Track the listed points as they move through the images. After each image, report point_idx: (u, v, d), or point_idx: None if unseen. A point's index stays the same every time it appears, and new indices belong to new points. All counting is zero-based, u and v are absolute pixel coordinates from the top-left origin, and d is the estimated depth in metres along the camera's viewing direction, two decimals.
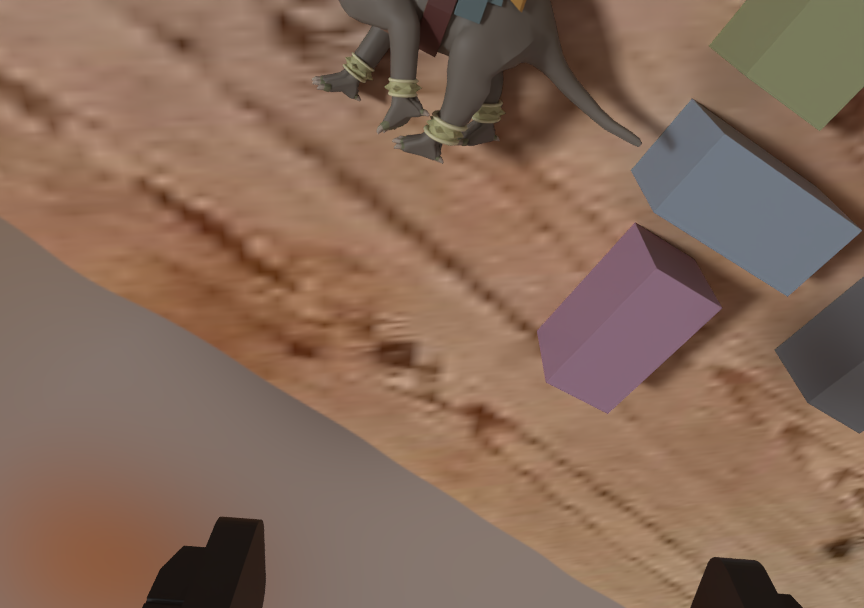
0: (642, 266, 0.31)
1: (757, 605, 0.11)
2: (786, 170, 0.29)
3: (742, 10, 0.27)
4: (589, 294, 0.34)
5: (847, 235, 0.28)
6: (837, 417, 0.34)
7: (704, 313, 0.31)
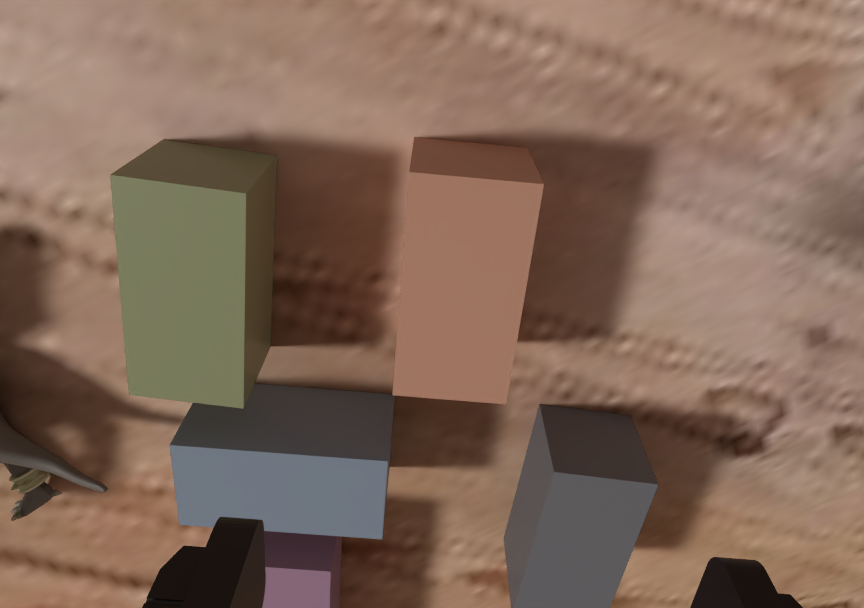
0: None
1: (757, 605, 0.11)
2: (311, 416, 0.27)
3: None
4: None
5: (379, 470, 0.25)
6: None
7: (319, 581, 0.28)
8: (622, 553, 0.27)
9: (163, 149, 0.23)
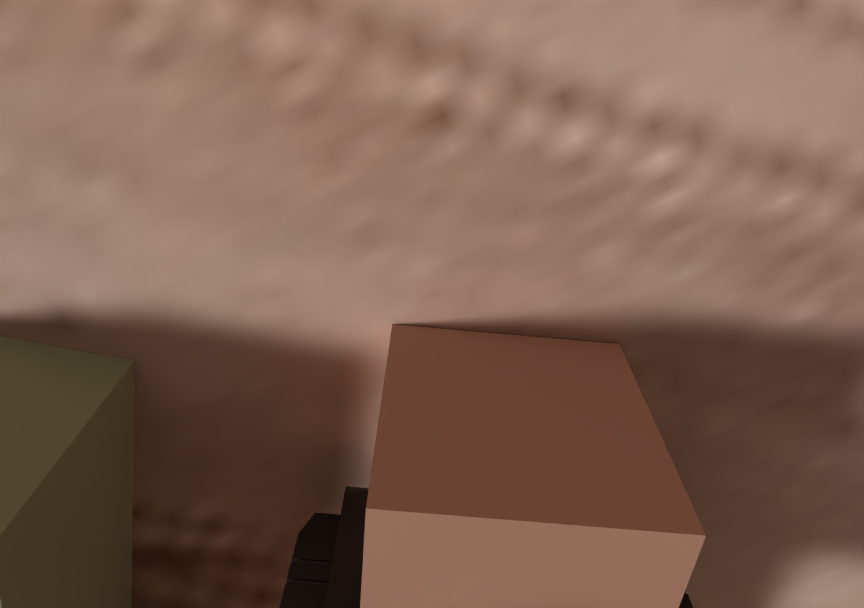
0: None
1: None
2: None
3: None
4: None
5: None
6: None
7: None
8: None
9: None
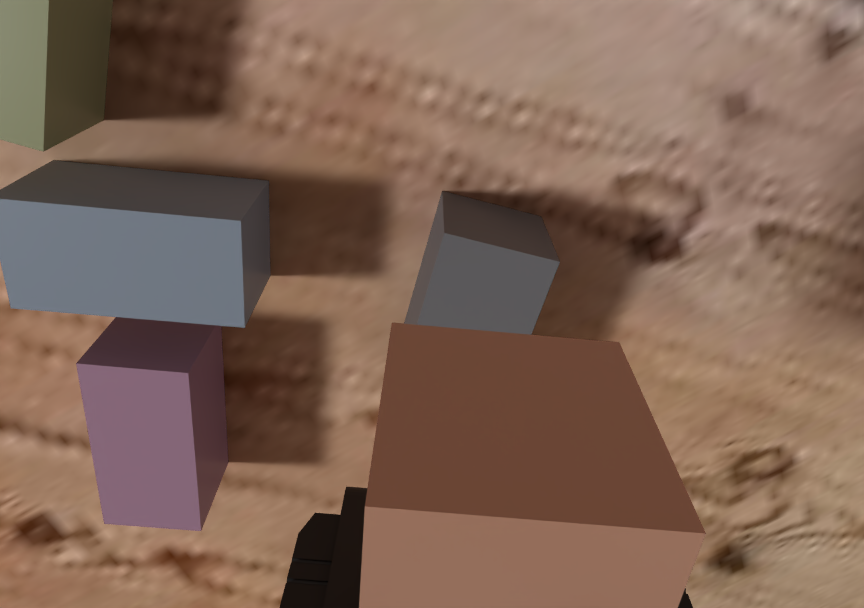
0: None
1: None
2: (165, 188, 0.23)
3: None
4: None
5: (232, 233, 0.22)
6: None
7: (176, 386, 0.25)
8: None
9: None
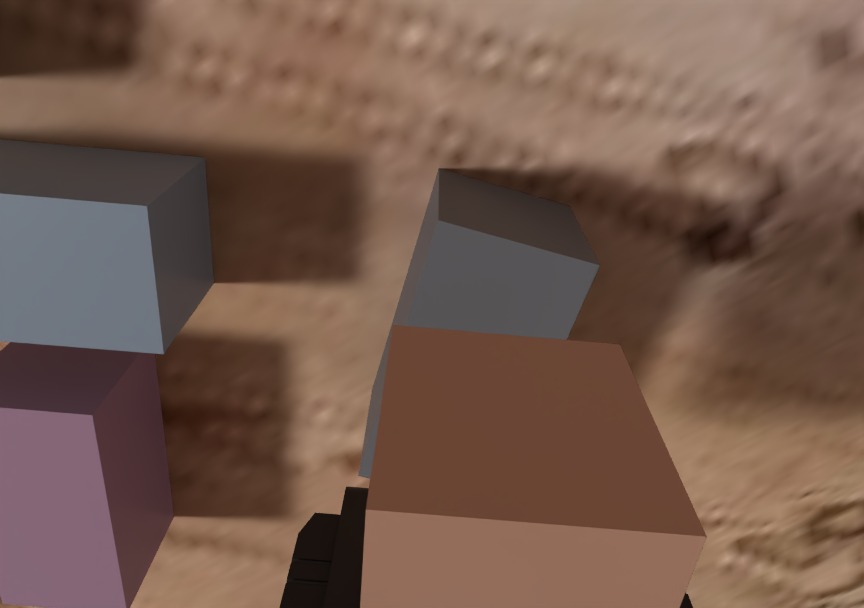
0: None
1: None
2: (57, 165, 0.17)
3: None
4: None
5: (136, 224, 0.16)
6: None
7: (79, 433, 0.18)
8: None
9: None
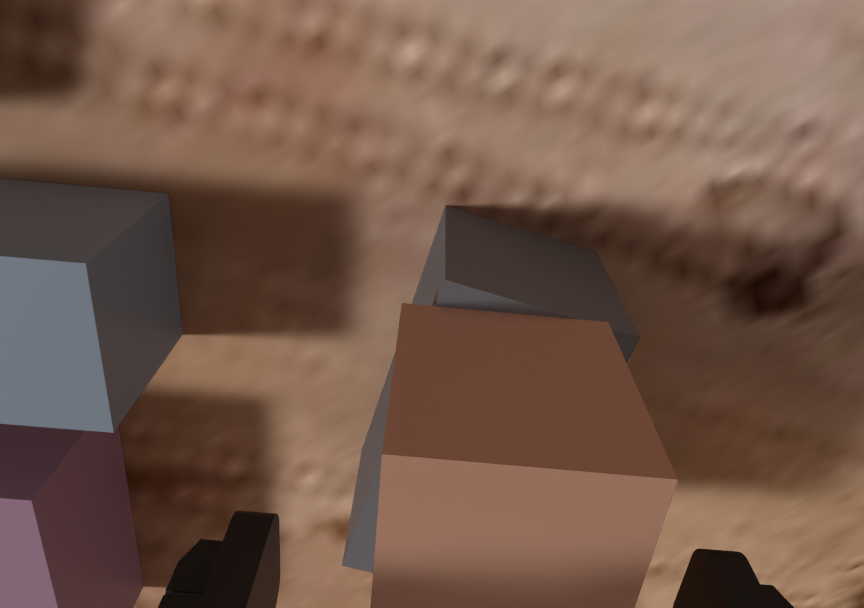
0: None
1: (739, 595, 0.11)
2: None
3: None
4: None
5: (74, 284, 0.13)
6: None
7: (17, 520, 0.16)
8: None
9: None
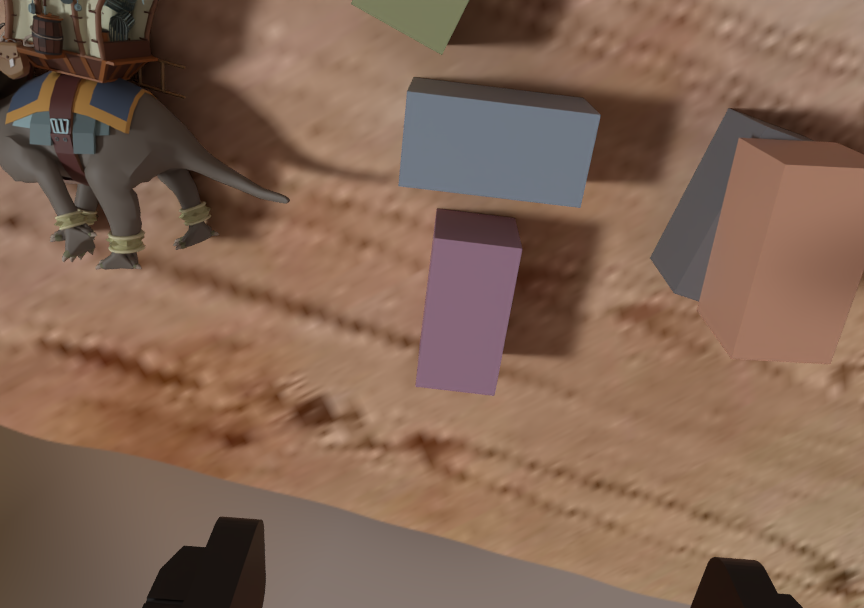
0: (433, 242, 0.31)
1: (757, 605, 0.11)
2: (519, 96, 0.29)
3: None
4: None
5: (590, 125, 0.28)
6: None
7: (509, 261, 0.30)
8: None
9: None
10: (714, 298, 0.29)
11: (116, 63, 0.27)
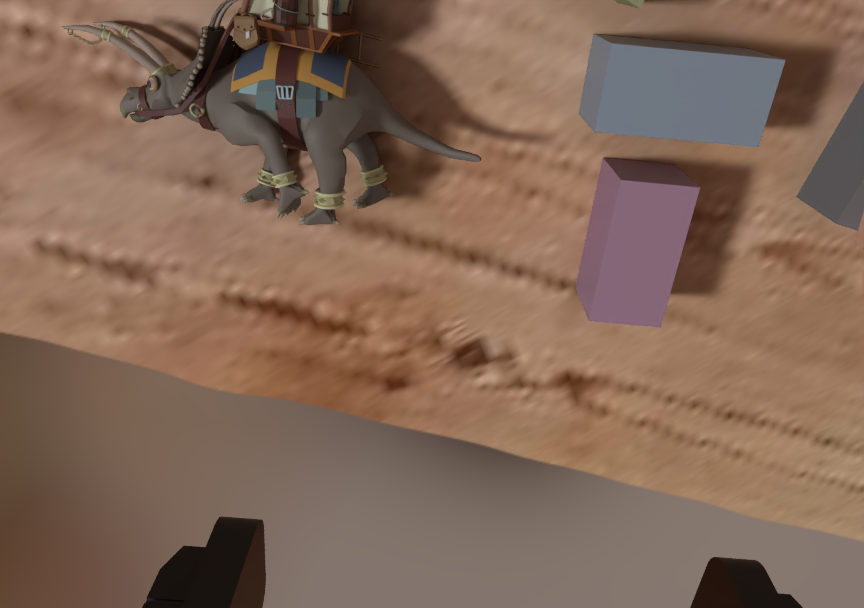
0: (614, 185, 0.34)
1: (757, 605, 0.11)
2: (699, 47, 0.32)
3: None
4: (594, 233, 0.37)
5: (775, 70, 0.31)
6: None
7: (687, 199, 0.34)
8: None
9: None
10: None
11: (341, 34, 0.30)
